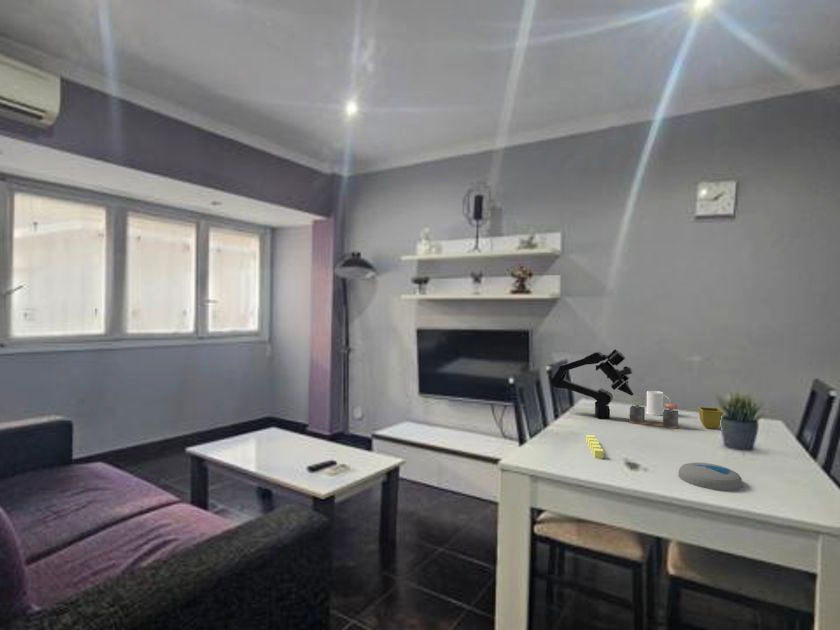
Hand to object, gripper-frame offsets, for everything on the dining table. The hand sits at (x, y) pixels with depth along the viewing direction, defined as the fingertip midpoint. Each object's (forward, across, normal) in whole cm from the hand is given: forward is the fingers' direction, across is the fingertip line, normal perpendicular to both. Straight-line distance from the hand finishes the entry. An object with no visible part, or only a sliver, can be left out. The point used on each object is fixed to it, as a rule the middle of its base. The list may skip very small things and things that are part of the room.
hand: (632, 395), depth 242 cm
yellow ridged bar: (+8, -58, +13) cm, 60 cm away
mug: (+16, +26, +4) cm, 31 cm away
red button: (+18, 0, -6) cm, 19 cm away
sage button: (+7, 0, +4) cm, 8 cm away
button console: (+16, 0, +3) cm, 17 cm away
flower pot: (+34, +9, -14) cm, 37 cm away
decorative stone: (+35, -73, -15) cm, 83 cm away
